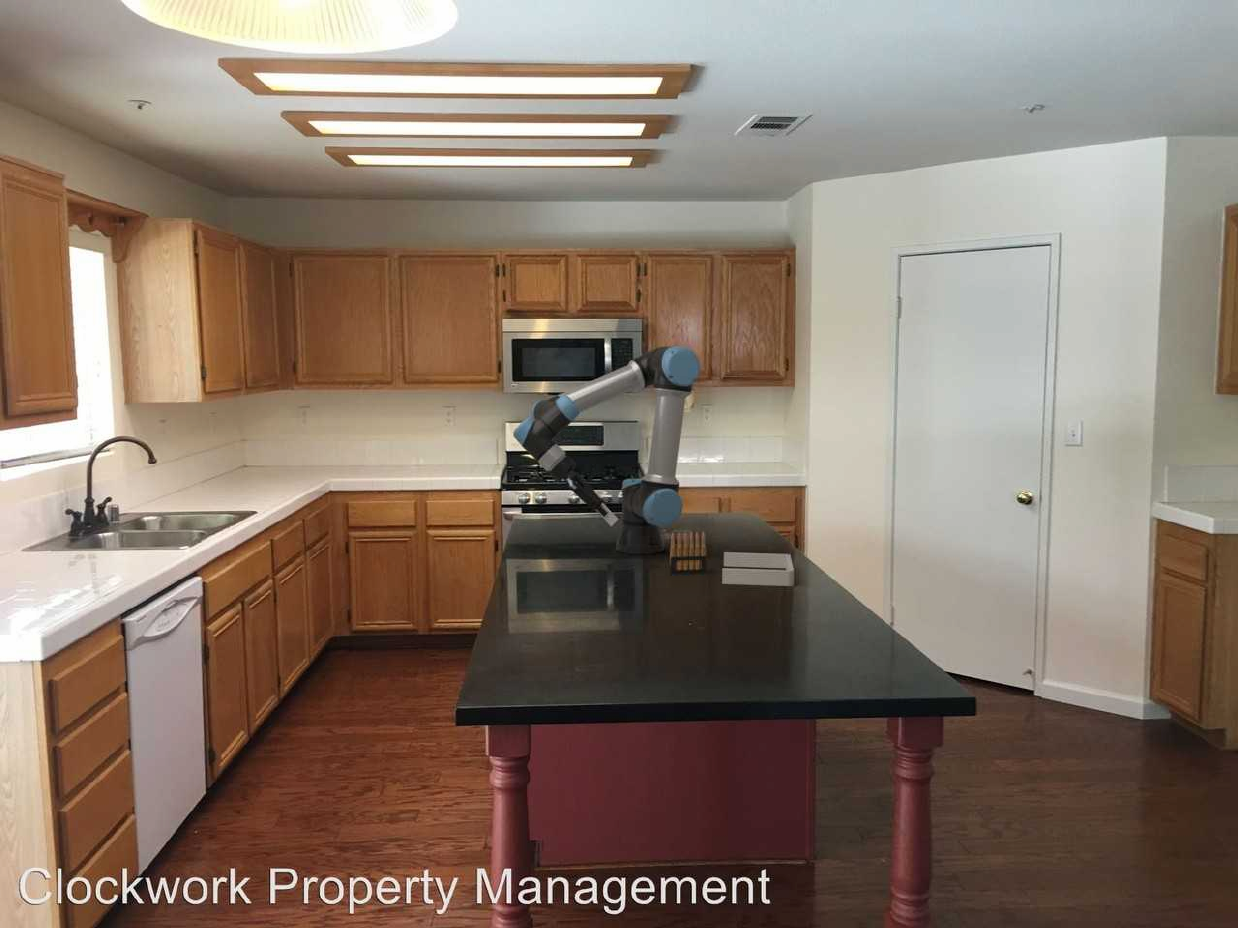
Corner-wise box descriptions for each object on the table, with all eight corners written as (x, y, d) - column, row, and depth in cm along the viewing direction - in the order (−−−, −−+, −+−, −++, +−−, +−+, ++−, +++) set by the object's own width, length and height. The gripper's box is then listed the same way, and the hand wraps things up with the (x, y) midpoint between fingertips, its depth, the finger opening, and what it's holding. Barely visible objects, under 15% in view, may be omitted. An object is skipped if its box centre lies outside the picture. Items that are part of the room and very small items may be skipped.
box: (723, 565, 273) (724, 552, 273) (789, 567, 271) (790, 554, 270) (722, 583, 251) (722, 569, 251) (793, 586, 249) (794, 571, 248)
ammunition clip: (705, 571, 265) (705, 530, 264) (706, 573, 263) (707, 531, 262) (668, 573, 264) (669, 531, 262) (670, 574, 262) (670, 532, 260)
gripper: (553, 470, 272) (608, 527, 272) (543, 475, 259) (602, 535, 259) (570, 452, 271) (626, 510, 270) (562, 457, 258) (621, 517, 258)
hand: (614, 522), depth 265 cm, fingers closed
